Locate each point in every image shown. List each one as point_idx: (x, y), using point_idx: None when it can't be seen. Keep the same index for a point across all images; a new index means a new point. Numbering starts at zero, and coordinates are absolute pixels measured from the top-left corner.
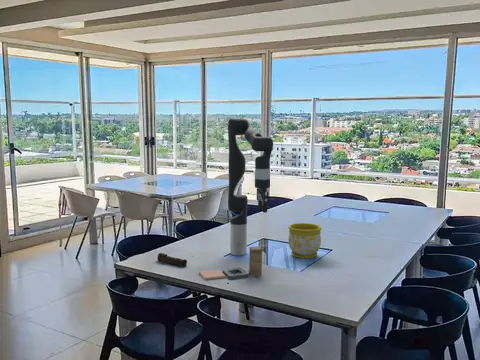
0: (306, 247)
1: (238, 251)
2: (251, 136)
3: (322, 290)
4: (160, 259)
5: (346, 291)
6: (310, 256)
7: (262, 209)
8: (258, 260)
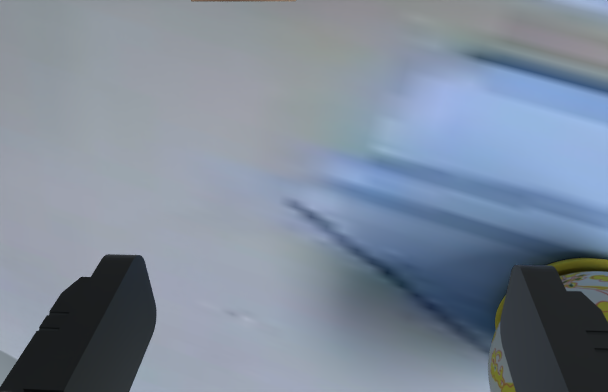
0: (496, 346)
1: None
2: None
3: (11, 202)
4: None
5: (15, 279)
6: (495, 322)
7: (109, 291)
8: None
